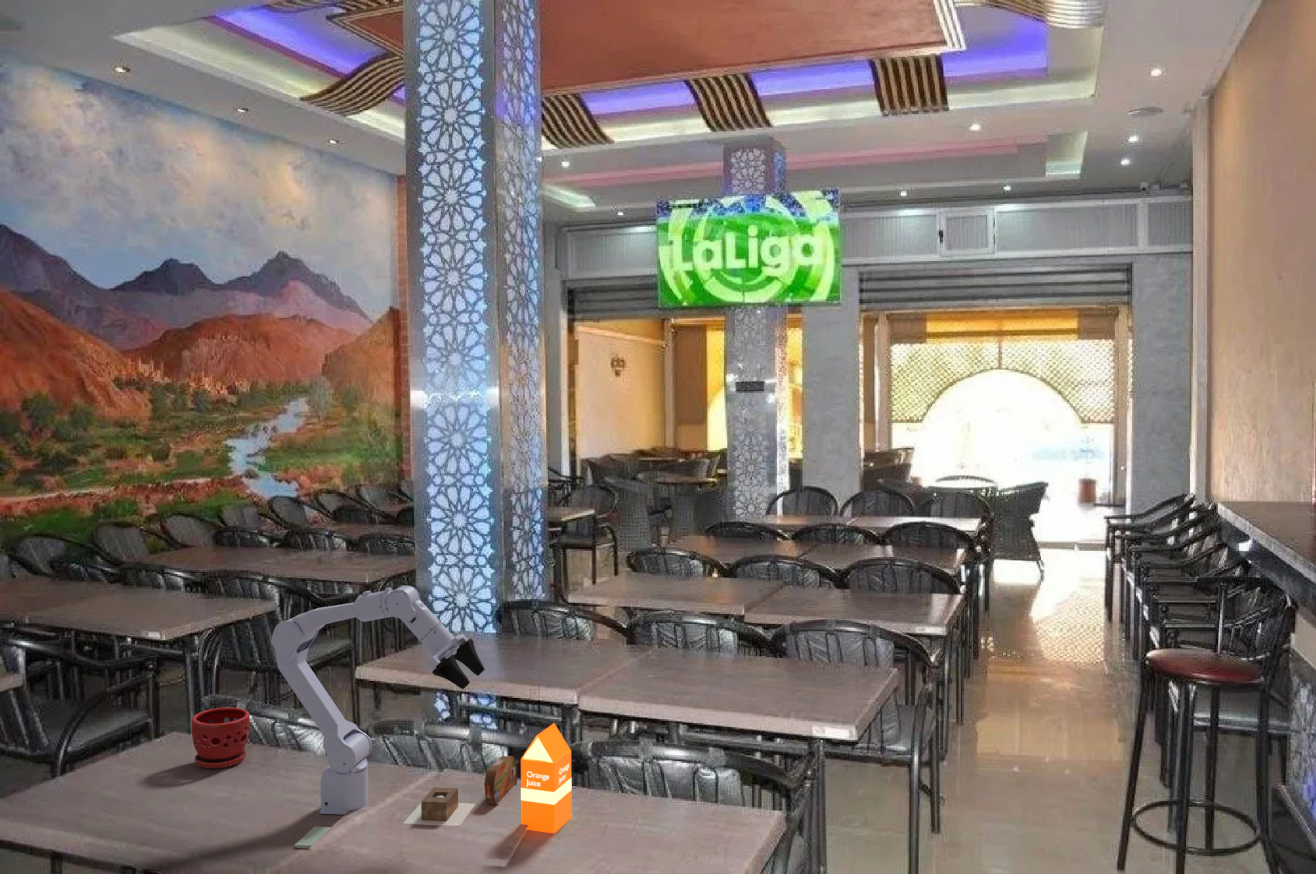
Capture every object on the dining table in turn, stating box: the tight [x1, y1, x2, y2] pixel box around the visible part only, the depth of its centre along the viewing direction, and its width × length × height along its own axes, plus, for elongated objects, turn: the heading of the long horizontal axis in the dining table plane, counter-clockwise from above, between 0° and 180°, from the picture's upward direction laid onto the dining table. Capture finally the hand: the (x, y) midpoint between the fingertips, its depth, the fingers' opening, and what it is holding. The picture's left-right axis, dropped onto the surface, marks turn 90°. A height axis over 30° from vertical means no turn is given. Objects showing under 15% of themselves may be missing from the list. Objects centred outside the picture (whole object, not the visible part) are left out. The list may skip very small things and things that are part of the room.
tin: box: [483, 755, 518, 806], centre depth 236 cm, size 15×3×8 cm, turn 168°
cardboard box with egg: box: [420, 786, 459, 821], centre depth 225 cm, size 5×8×4 cm
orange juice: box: [520, 722, 573, 834], centre depth 222 cm, size 8×9×20 cm
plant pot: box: [191, 707, 251, 769], centre depth 259 cm, size 13×13×12 cm
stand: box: [402, 795, 476, 827], centre depth 225 cm, size 12×12×4 cm
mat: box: [294, 826, 332, 849], centre depth 214 cm, size 18×9×1 cm, turn 83°
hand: (474, 679), depth 226 cm, fingers open, 7 cm apart
